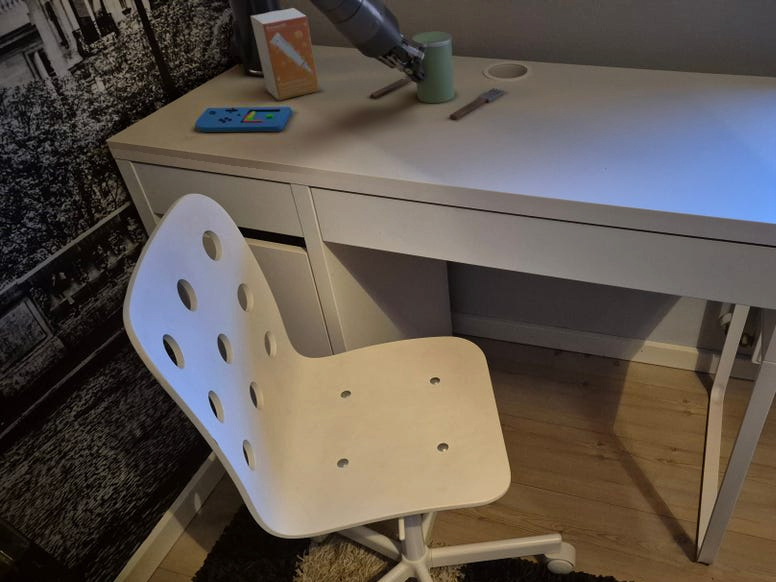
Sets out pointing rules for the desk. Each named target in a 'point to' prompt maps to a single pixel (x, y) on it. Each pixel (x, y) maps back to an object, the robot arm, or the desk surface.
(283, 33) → the small box
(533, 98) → the desk surface
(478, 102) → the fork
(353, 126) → the desk surface
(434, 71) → the can
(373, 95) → the spoon
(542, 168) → the desk surface
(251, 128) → the handheld gaming device
